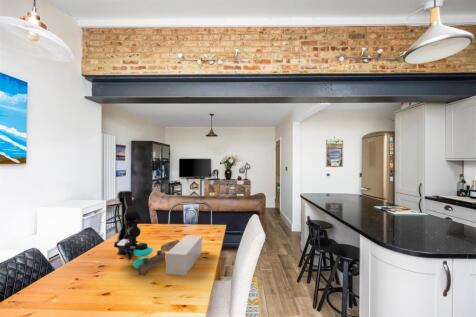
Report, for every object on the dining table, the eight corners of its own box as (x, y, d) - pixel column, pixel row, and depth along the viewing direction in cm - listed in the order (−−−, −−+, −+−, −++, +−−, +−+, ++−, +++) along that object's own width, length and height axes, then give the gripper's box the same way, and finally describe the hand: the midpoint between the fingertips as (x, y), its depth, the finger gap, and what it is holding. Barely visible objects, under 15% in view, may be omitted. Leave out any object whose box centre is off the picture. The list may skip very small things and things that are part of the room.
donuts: (151, 244, 144) (153, 249, 135) (151, 261, 144) (152, 268, 135) (133, 246, 140) (133, 252, 131) (133, 263, 140) (133, 271, 131)
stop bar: (138, 275, 126) (138, 261, 126) (160, 260, 145) (161, 248, 146) (142, 275, 125) (143, 262, 126) (165, 261, 145) (165, 249, 145)
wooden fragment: (168, 253, 158) (168, 251, 158) (153, 251, 161) (153, 249, 161) (186, 241, 183) (186, 239, 183) (172, 239, 186) (172, 238, 186)
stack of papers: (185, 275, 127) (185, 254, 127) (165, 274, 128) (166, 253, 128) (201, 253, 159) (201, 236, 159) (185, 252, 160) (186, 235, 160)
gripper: (106, 235, 135) (105, 263, 135) (134, 238, 130) (134, 268, 129) (121, 229, 146) (121, 256, 146) (148, 233, 140) (147, 260, 140)
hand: (130, 260), depth 140 cm, fingers closed
